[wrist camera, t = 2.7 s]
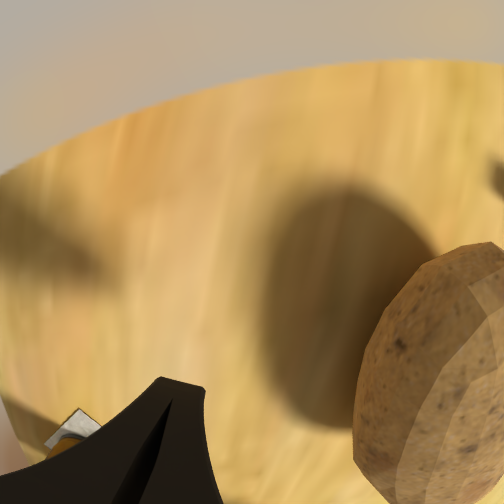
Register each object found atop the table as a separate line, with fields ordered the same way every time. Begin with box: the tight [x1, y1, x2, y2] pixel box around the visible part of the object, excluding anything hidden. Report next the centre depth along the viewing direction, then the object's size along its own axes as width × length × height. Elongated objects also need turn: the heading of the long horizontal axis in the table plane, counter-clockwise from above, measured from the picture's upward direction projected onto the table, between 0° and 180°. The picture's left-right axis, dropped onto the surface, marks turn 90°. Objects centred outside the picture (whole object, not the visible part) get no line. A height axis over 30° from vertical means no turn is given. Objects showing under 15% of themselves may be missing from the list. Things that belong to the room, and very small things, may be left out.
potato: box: [352, 242, 504, 504], centre depth 11 cm, size 10×14×8 cm
